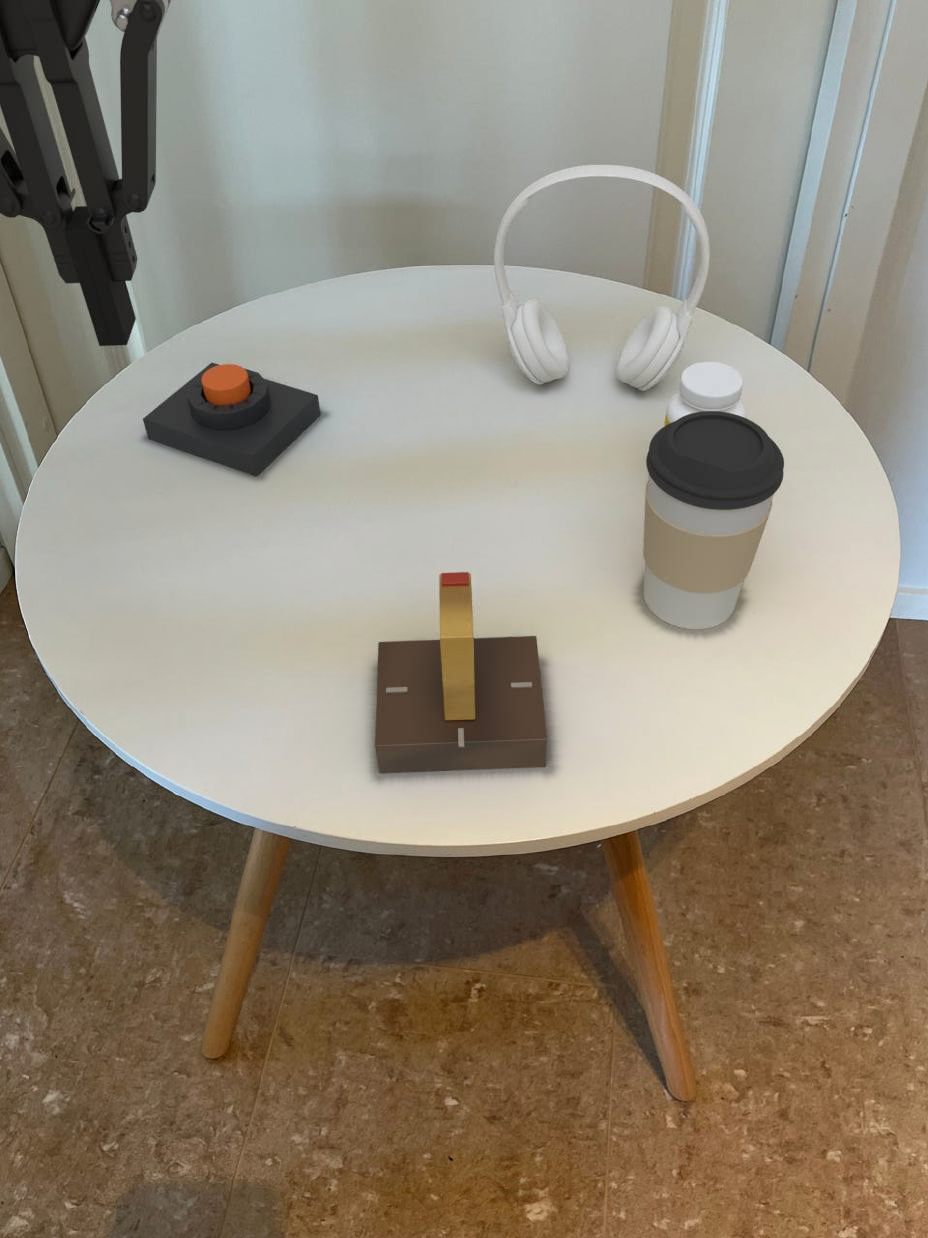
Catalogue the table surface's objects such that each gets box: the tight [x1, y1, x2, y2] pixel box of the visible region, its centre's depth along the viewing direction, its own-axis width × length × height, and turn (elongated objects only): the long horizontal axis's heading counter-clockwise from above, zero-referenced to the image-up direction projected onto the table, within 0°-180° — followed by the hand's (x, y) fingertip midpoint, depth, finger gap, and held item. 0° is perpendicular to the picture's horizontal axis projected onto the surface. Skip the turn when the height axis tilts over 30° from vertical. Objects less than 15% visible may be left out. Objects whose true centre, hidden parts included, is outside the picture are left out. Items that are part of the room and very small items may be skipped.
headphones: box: [493, 164, 711, 391], centre depth 92 cm, size 7×18×20 cm, turn 82°
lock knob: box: [438, 571, 475, 720], centre depth 67 cm, size 6×2×8 cm, turn 1°
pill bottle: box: [664, 361, 747, 426], centre depth 84 cm, size 6×6×11 cm
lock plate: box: [374, 635, 548, 774], centre depth 71 cm, size 11×10×3 cm
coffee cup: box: [642, 411, 785, 630], centre depth 74 cm, size 9×9×15 cm
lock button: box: [202, 363, 251, 405], centre depth 93 cm, size 4×4×2 cm
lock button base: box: [142, 362, 322, 477], centre depth 95 cm, size 12×10×4 cm
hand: (117, 331), depth 58 cm, fingers closed
